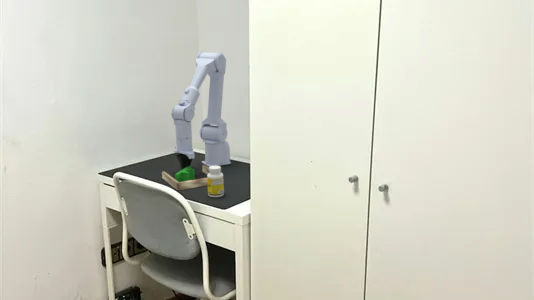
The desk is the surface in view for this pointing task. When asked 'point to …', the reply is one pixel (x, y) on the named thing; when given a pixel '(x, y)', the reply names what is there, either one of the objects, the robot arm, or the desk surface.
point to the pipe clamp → (185, 174)
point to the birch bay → (186, 184)
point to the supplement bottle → (215, 182)
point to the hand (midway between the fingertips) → (185, 172)
